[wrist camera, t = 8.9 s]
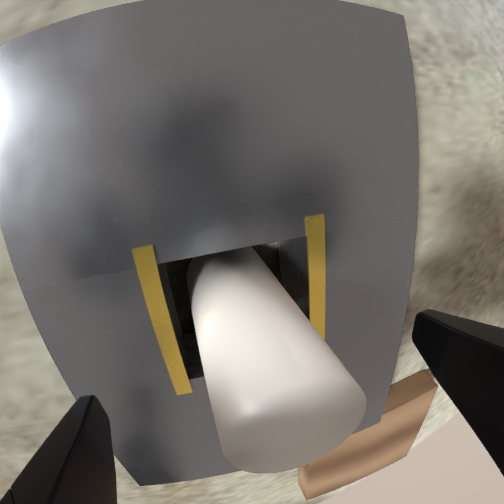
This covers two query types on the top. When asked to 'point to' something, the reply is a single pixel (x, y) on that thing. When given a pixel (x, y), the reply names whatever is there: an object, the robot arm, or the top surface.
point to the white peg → (267, 367)
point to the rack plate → (206, 194)
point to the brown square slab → (373, 440)
